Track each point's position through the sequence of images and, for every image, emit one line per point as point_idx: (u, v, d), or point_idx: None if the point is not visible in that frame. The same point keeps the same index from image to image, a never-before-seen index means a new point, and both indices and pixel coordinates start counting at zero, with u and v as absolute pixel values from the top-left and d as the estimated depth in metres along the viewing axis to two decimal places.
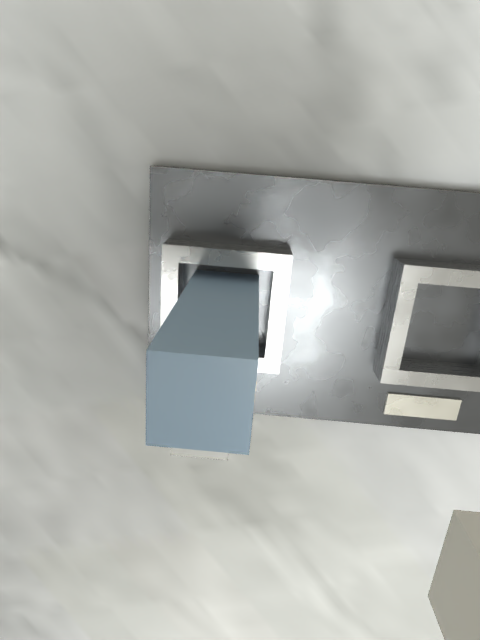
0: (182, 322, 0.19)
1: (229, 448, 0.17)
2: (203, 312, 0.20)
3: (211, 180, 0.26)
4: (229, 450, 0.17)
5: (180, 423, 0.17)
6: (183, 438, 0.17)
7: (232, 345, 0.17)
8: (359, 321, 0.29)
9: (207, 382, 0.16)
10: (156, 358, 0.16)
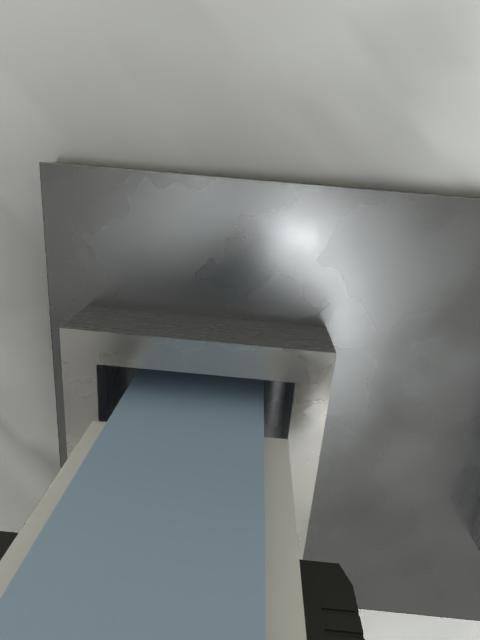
0: None
1: None
2: (98, 606, 0.07)
3: (167, 193, 0.13)
4: None
5: None
6: None
7: None
8: (453, 457, 0.15)
9: None
10: None
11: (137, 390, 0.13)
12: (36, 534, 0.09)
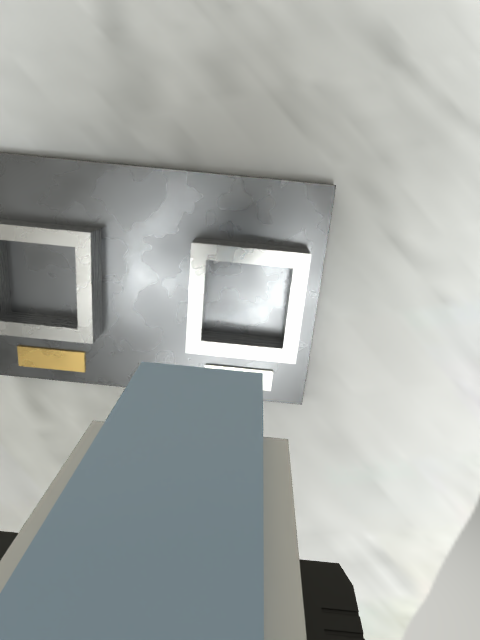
0: None
1: None
2: (96, 604, 0.07)
3: (21, 164, 0.29)
4: None
5: None
6: None
7: None
8: (171, 296, 0.31)
9: None
10: None
11: (136, 389, 0.13)
12: None
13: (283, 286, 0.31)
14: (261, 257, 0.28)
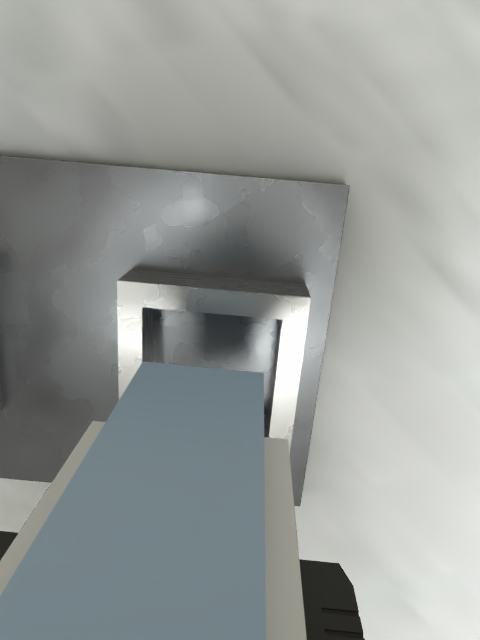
0: None
1: None
2: (97, 605, 0.07)
3: None
4: None
5: None
6: None
7: None
8: (100, 356, 0.21)
9: None
10: None
11: (137, 389, 0.13)
12: (36, 534, 0.09)
13: (268, 341, 0.20)
14: (230, 302, 0.17)
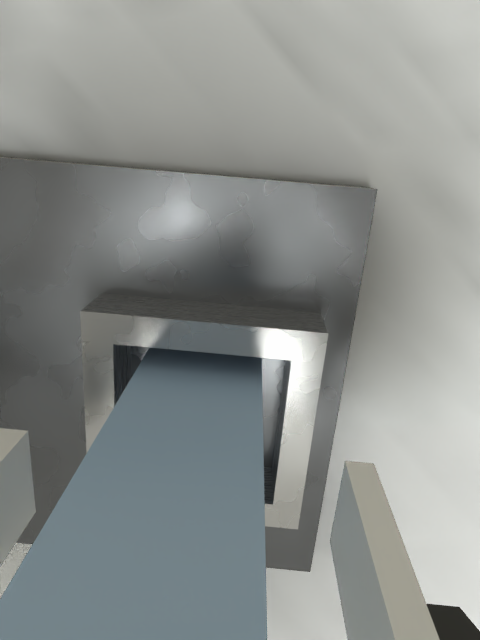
0: (52, 603, 0.07)
1: None
2: (127, 529, 0.08)
3: None
4: None
5: None
6: None
7: None
8: (68, 397, 0.17)
9: None
10: None
11: (148, 367, 0.14)
12: None
13: (273, 381, 0.16)
14: (225, 338, 0.14)
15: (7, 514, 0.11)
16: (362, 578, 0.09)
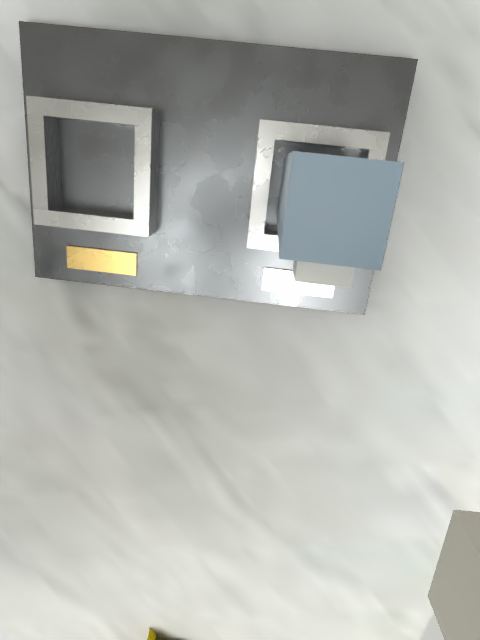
0: None
1: (362, 262, 0.17)
2: None
3: (79, 37, 0.27)
4: (361, 265, 0.17)
5: (316, 234, 0.17)
6: (317, 251, 0.17)
7: None
8: (231, 190, 0.29)
9: (349, 188, 0.16)
10: (302, 160, 0.16)
11: None
12: None
13: None
14: (335, 135, 0.26)
15: None
16: None
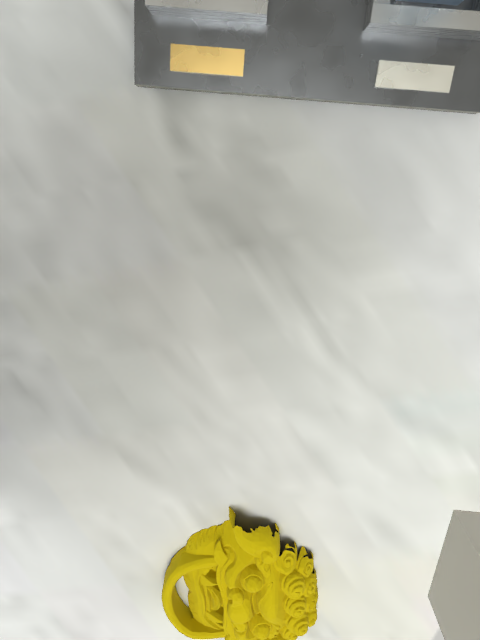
0: None
1: None
2: None
3: None
4: None
5: None
6: None
7: None
8: None
9: None
10: None
11: None
12: None
13: None
14: None
15: None
16: None
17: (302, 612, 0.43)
